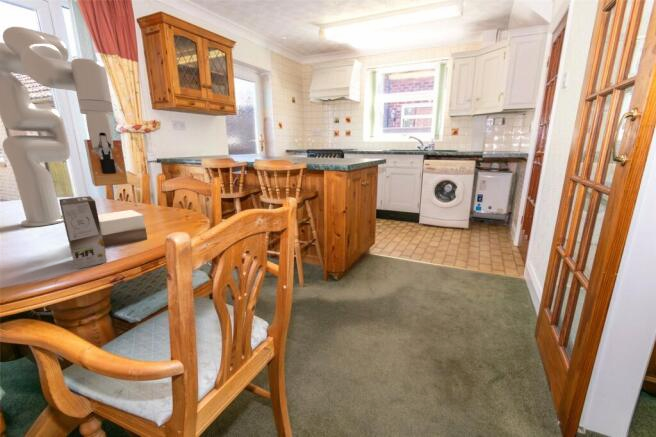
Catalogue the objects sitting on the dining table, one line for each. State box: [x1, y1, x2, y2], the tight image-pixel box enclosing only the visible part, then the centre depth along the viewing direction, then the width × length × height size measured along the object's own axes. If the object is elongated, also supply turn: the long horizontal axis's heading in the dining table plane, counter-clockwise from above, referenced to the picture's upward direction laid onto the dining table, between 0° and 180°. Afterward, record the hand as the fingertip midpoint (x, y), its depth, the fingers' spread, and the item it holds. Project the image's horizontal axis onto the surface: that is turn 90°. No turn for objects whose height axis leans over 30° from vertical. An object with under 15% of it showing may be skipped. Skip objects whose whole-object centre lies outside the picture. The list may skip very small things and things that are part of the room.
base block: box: [102, 226, 148, 248], centre depth 93 cm, size 12×12×4 cm
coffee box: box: [58, 195, 108, 270], centre depth 74 cm, size 9×6×16 cm
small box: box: [83, 139, 129, 187], centre depth 87 cm, size 8×6×13 cm
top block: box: [98, 209, 146, 235], centre depth 92 cm, size 11×11×4 cm
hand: (108, 172), depth 87 cm, fingers closed on small box, 6 cm apart
